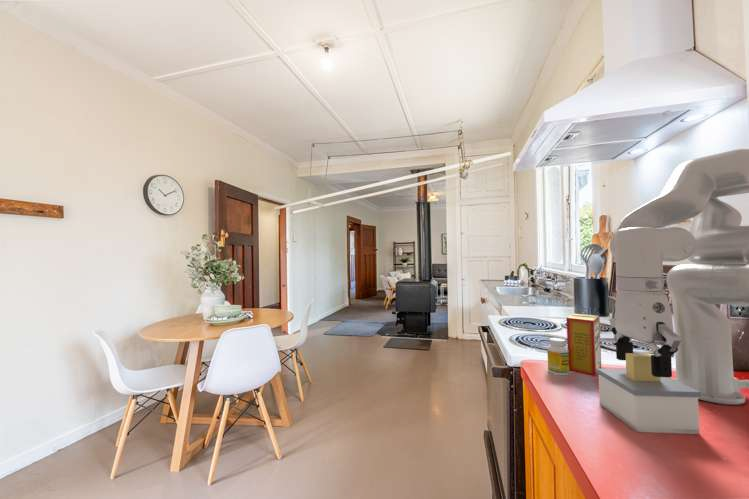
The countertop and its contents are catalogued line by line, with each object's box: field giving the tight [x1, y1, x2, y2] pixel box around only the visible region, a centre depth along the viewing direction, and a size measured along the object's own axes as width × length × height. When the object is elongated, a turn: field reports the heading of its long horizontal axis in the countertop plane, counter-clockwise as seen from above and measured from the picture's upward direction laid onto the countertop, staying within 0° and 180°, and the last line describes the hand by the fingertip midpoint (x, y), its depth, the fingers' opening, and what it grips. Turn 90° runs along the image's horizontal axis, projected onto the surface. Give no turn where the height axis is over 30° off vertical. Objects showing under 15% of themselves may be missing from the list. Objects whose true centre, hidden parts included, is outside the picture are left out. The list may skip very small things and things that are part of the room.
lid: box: [596, 352, 701, 397], centre depth 63 cm, size 12×12×7 cm
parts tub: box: [598, 374, 701, 435], centre depth 63 cm, size 11×11×7 cm
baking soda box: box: [566, 313, 602, 377], centre depth 90 cm, size 10×6×16 cm
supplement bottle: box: [546, 337, 570, 376], centre depth 88 cm, size 5×5×10 cm
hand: (641, 367), depth 63 cm, fingers open, 9 cm apart
